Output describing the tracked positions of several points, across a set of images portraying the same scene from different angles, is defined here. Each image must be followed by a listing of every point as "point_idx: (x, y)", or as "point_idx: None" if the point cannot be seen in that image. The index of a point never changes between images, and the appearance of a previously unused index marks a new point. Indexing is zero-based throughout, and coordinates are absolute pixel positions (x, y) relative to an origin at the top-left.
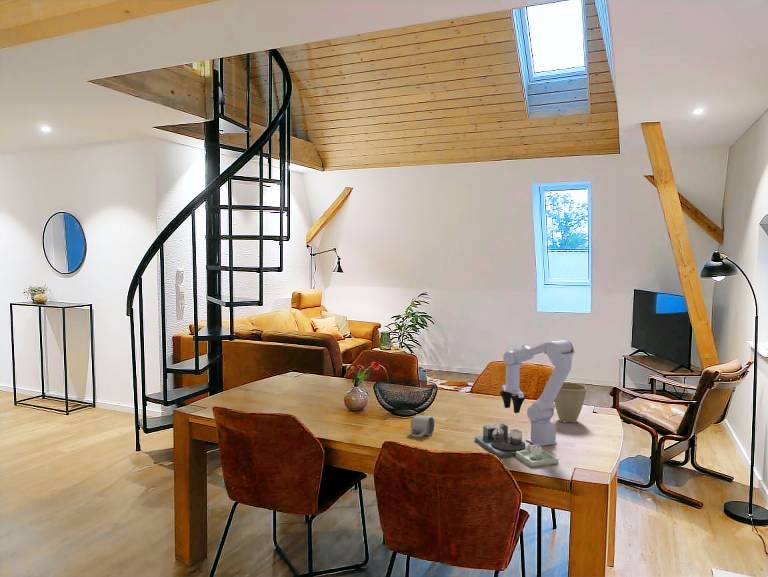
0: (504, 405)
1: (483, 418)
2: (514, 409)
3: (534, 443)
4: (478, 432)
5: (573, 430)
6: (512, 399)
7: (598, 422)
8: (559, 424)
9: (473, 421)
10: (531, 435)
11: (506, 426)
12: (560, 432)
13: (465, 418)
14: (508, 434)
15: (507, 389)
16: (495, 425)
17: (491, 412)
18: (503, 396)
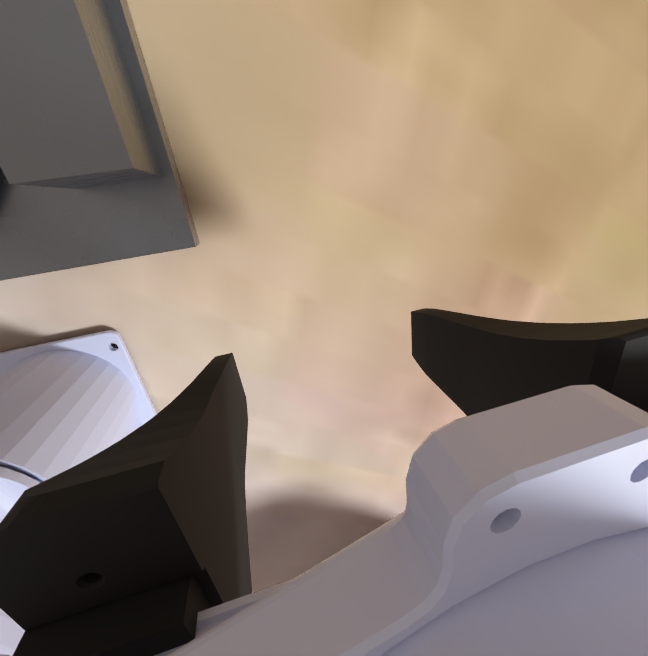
0: (437, 310)
1: (557, 204)
2: (203, 371)
3: (6, 358)
4: (315, 14)
5: (277, 558)
6: (149, 452)
7: None
8: (360, 524)
9: (540, 103)
10: (26, 371)
11: (11, 167)
12: (256, 514)
13: (611, 68)
14: (157, 225)
15: (505, 616)
16: (36, 21)
17: (609, 289)
18: (527, 340)
